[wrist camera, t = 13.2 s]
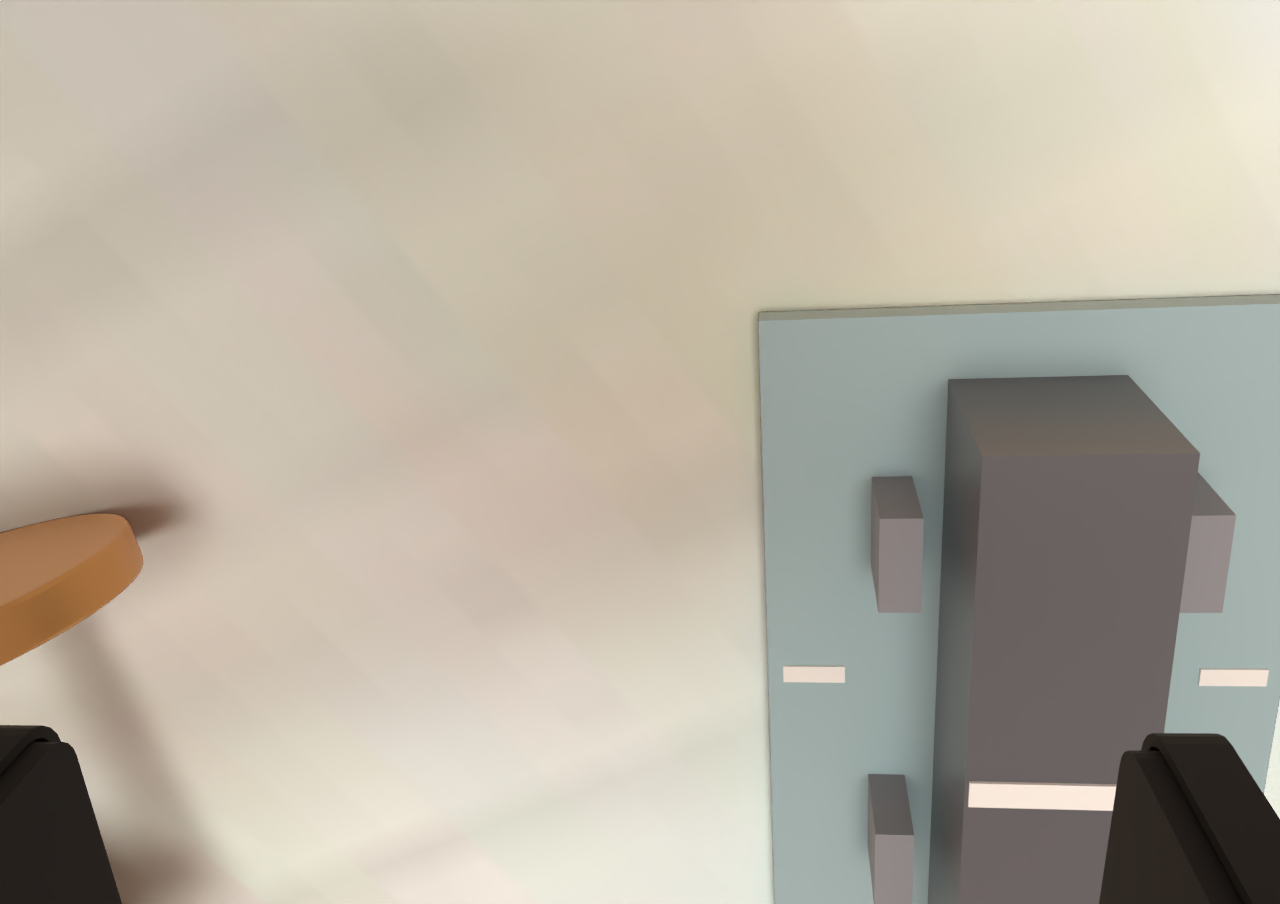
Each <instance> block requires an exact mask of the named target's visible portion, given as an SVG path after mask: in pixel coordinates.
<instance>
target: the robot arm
mask: <svg viewBox="0 0 1280 904" xmlns="http://www.w3.org/2000/svg"><path fill="white" fill-rule="evenodd" d="M0 904H122V903H121V900H120V896H119V893H118V890H117V886H116V883H115V880H114V877H113V873H112V870H111V867H110V863H109V860H108V857H107V854H106V850H105V847H104V844H103V840H102V837H101V834H100V831H99V827H98V824H97V821H96V817H95V814H94V811H93V808H92V804H91V801H90V798H89V795H88V791H87V788H86V785H85V781H84V778H83V775H82V772H81V768H80V765H79V762H78V758H77V755H76V753H75V751H74V749H73V747H71V746H70V745H69V744H68V743H65V742H61V741H60V739H59V737H58V734H57V733H56V732H55V731H54V730H52V729H51V728H50V727H46V726H17V725H0ZM1099 904H1280V819H1279V817H1278V816H1277V814H1276V813H1275V811H1274V810H1273V808H1272V807H1271V805H1270V803H1269V802H1268V800H1267V799H1266V797H1265V796H1264V794H1263V793H1262V791H1261V789H1260V788H1259V786H1258V785H1257V783H1256V782H1255V780H1254V779H1253V777H1252V775H1251V774H1250V772H1249V771H1248V769H1247V768H1246V766H1245V765H1244V763H1243V761H1242V760H1241V758H1240V757H1239V755H1238V754H1237V752H1236V751H1235V749H1234V747H1233V746H1232V744H1231V743H1230V742H1229V741H1228V740H1227V739H1226V737H1225V736H1222V735H1220V734H1213V733H1151V734H1149V735H1147V736H1146V738H1145V740H1144V741H1143V744H1142V748H1141V751H1132V750H1128V751H1126V752H1124V754H1123V755H1122V757H1121V761H1120V766H1119V772H1118V779H1117V786H1116V792H1115V799H1114V806H1113V813H1112V819H1111V826H1110V833H1109V839H1108V846H1107V853H1106V859H1105V866H1104V873H1103V879H1102V886H1101V893H1100V899H1099Z"/></svg>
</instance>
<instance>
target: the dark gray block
mask: <svg viewBox="0 0 1280 904" xmlns="http://www.w3.org/2000/svg"><path fill="white" fill-rule="evenodd" d="M1199 459H1200V452H1199V451H1198V450H1197V449H1196V448H1195V447H1194V446H1193V445H1192V444H1191V443H1190V442H1189V441H1188V439H1187V438H1186V437H1185V436H1184V435H1183V434H1182V433H1181V432H1180V431H1179V430H1178V429H1177V428H1176V426H1175V425H1174V424H1173V423H1172V422H1171V421H1170V420H1169V419H1168V418H1167V417H1166V416H1165V414H1164V413H1163V412H1162V411H1161V410H1160V409H1159V408H1158V407H1157V406H1156V405H1155V404H1154V403H1153V401H1152V400H1151V399H1150V398H1149V397H1148V396H1147V395H1146V394H1145V393H1144V392H1143V391H1142V390H1141V388H1140V387H1139V386H1138V385H1137V384H1136V383H1135V382H1134V381H1133V380H1132V379H1131V378H1130V377H1129V375H1102V376H1060V377H1018V378H975V379H948V402H947V427H946V452H945V477H944V503H943V528H942V553H941V578H940V603H939V629H938V654H937V679H936V704H935V729H934V754H933V780H932V805H931V830H930V855H929V880H928V904H1099V899H1100V893H1101V886H1102V879H1103V873H1104V866H1105V859H1106V853H1107V846H1108V839H1109V833H1110V826H1111V819H1112V813H1113V806H1114V799H1115V792H1116V786H1117V779H1118V772H1119V766H1120V761H1121V757H1122V755H1123V754H1124V752H1126V751H1128V750H1132V751H1141V748H1142V744H1143V741H1144V740H1145V738H1146V736H1147V735H1149V734H1151V733H1164V729H1165V721H1166V713H1167V706H1168V698H1169V690H1170V682H1171V675H1172V667H1173V659H1174V652H1175V644H1176V636H1177V629H1178V621H1179V613H1180V605H1181V598H1182V590H1183V582H1184V575H1185V567H1186V559H1187V551H1188V544H1189V536H1190V528H1191V521H1192V513H1193V505H1194V498H1195V490H1196V482H1197V474H1198V467H1199Z"/></svg>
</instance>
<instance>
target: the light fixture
mask: <svg viewBox="0 0 1280 904" xmlns="http://www.w3.org/2000/svg"><path fill="white" fill-rule="evenodd" d="M142 566H143V556H142V553H141V550H140V548H139V545H138V543H137V541H136V538H135V536H134V533H133V531H132V529H131V526H130V524H129V522H128V521H127V520H126V519H125V518H124V517H123V516H119V515H116V514H86V515H78V516H71V517H65V518H60V519H55V520H50V521H45V522H41V523H37V524H33V525H29V526H25V527H21V528H17V529H13V530H10V531H6V532H2V533H0V666H1V665H3V664H5V663H7V662H9V661H11V660H13V659H15V658H17V657H19V656H21V655H23V654H25V653H26V652H28V651H30V650H32V649H34V648H36V647H38V646H40V645H42V644H44V643H45V642H47V641H49V640H51V639H52V638H54V637H56V636H58V635H59V634H61V633H63V632H65V631H66V630H68V629H70V628H71V627H73V626H74V625H76V624H78V623H79V622H81V621H82V620H84V619H86V618H87V617H89V616H90V615H92V614H93V613H95V612H96V611H97V610H99V609H100V608H102V607H103V606H105V605H106V604H107V603H109V602H110V601H111V600H112V599H114V598H115V597H116V596H117V595H118V594H120V593H121V592H122V591H123V590H124V589H125V588H126V587H127V586H128V585H130V584H131V583H132V582H133V581H134V579H135V578H136V577H137V575H138V574H139V573H140V571H141V569H142Z"/></svg>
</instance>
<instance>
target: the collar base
mask: <svg viewBox="0 0 1280 904" xmlns="http://www.w3.org/2000/svg"><path fill="white" fill-rule="evenodd" d="M758 326H759V362H760V398H761V434H762V470H763V506H764V541H765V577H766V613H767V649H768V685H769V721H770V757H771V792H772V828H773V864H774V900H775V904H928V880H929V855H930V830H931V805H932V780H933V754H934V729H935V704H936V679H937V654H938V629H939V603H940V578H941V553H942V528H943V503H944V477H945V452H946V427H947V402H948V379H975V378H1018V377H1060V376H1102V375H1129V377H1130V378H1131V379H1132V380H1133V381H1134V382H1135V383H1136V384H1137V385H1138V386H1139V387H1140V388H1141V390H1142V391H1143V392H1144V393H1145V394H1146V395H1147V396H1148V397H1149V398H1150V399H1151V400H1152V401H1153V403H1154V404H1155V405H1156V406H1157V407H1158V408H1159V409H1160V410H1161V411H1162V412H1163V413H1164V414H1165V416H1166V417H1167V418H1168V419H1169V420H1170V421H1171V422H1172V423H1173V424H1174V425H1175V426H1176V428H1177V429H1178V430H1179V431H1180V432H1181V433H1182V434H1183V435H1184V436H1185V437H1186V438H1187V439H1188V441H1189V442H1190V443H1191V444H1192V445H1193V446H1194V447H1195V448H1196V449H1197V450H1198V451H1199V452H1200V459H1199V467H1198V474H1197V482H1196V490H1195V498H1194V505H1193V513H1192V521H1191V528H1190V536H1189V544H1188V551H1187V559H1186V567H1185V575H1184V582H1183V590H1182V598H1181V605H1180V613H1179V621H1178V629H1177V636H1176V644H1175V652H1174V659H1173V667H1172V675H1171V682H1170V690H1169V698H1168V706H1167V713H1166V721H1165V729H1164V733H1213V734H1220V735H1222V736H1225V737H1226V739H1227V740H1228V741H1229V742H1230V743H1231V744H1232V746H1233V747H1234V749H1235V751H1236V752H1237V754H1238V755H1239V757H1240V758H1241V760H1242V761H1243V763H1244V765H1245V766H1246V768H1247V769H1248V771H1249V772H1250V774H1251V775H1252V777H1253V779H1254V780H1255V782H1256V783H1257V785H1258V786H1259V788H1260V789H1261V791H1262V793H1263V794H1264V789H1265V783H1266V777H1267V771H1268V765H1269V759H1270V753H1271V747H1272V741H1273V735H1274V730H1275V724H1276V718H1277V712H1278V706H1279V700H1280V294H1273V295H1244V296H1215V297H1186V298H1157V299H1128V300H1099V301H1070V302H1040V303H1011V304H982V305H953V306H924V307H895V308H866V309H837V310H808V311H779V312H759V319H758Z"/></svg>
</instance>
